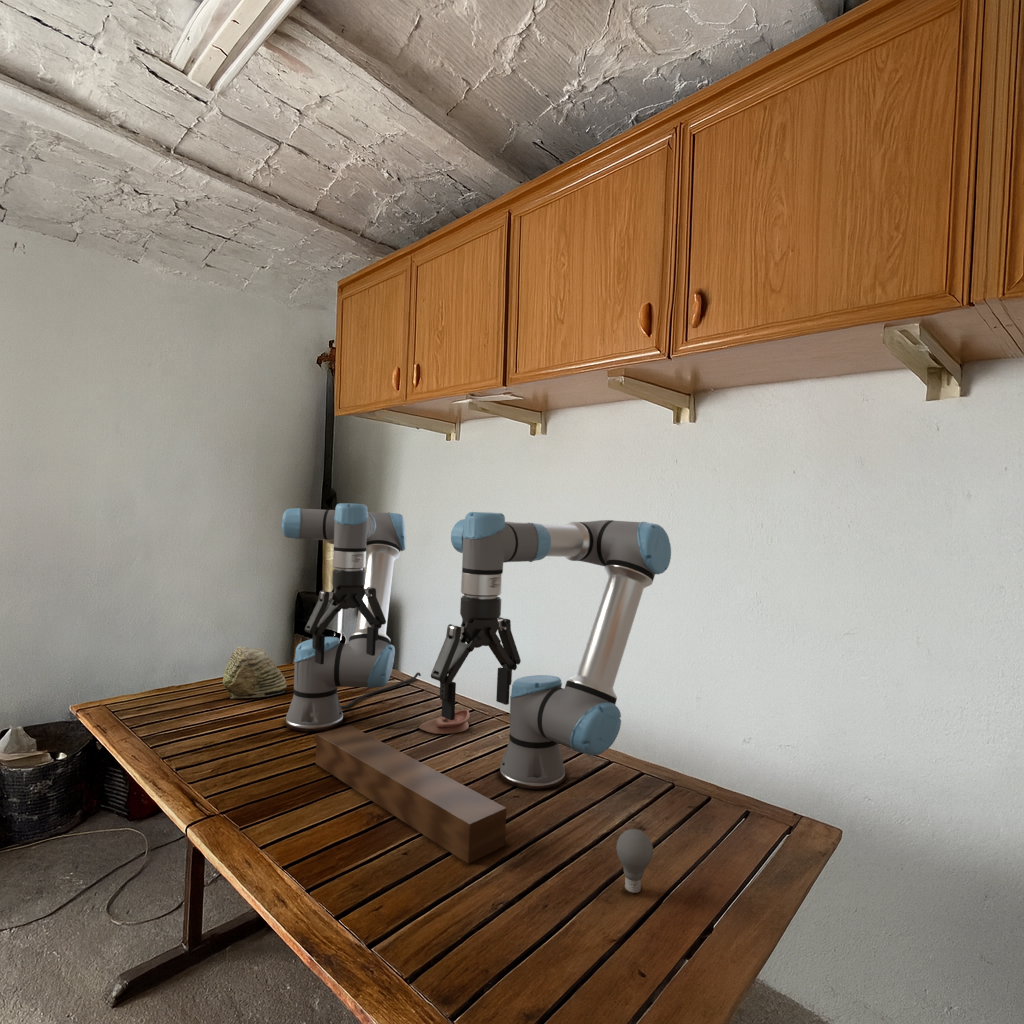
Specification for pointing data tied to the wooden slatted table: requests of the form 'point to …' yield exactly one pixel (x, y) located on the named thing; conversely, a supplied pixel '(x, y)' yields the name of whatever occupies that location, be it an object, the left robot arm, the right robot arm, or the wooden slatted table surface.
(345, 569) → the left robot arm
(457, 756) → the wooden slatted table surface
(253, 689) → the fossil
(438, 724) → the anatomical model
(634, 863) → the light bulb
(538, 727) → the right robot arm
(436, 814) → the beam
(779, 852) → the wooden slatted table surface
